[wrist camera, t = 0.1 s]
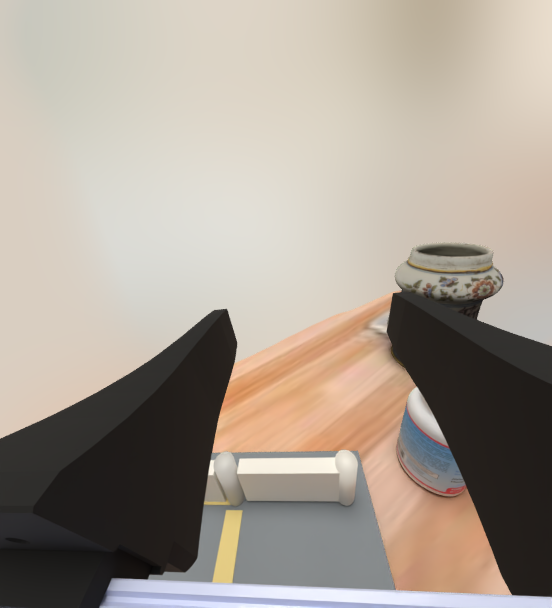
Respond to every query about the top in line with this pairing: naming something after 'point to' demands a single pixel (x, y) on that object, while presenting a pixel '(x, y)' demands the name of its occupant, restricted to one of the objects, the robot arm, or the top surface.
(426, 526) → the top surface
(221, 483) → the fixed fence section
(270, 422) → the top surface
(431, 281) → the apothecary jar
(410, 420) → the pill bottle
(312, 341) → the top surface
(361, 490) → the board
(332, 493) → the fence panel
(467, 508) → the top surface
